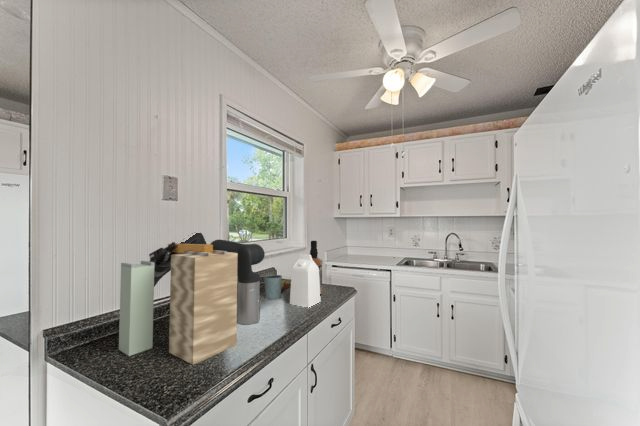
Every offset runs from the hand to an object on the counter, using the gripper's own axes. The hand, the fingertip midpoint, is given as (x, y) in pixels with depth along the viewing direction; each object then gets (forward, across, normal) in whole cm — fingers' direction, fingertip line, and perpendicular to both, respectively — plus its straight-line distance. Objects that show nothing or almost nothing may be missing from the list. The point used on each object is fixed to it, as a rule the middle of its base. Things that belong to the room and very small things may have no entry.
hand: (179, 244), depth 101 cm
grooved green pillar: (-21, +12, -28) cm, 37 cm away
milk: (-7, -61, -37) cm, 72 cm away
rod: (+4, 0, -6) cm, 7 cm away
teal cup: (-27, -60, -25) cm, 71 cm away
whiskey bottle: (-14, -80, -33) cm, 87 cm away
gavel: (-32, -77, -23) cm, 87 cm away
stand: (-4, -1, -38) cm, 38 cm away
